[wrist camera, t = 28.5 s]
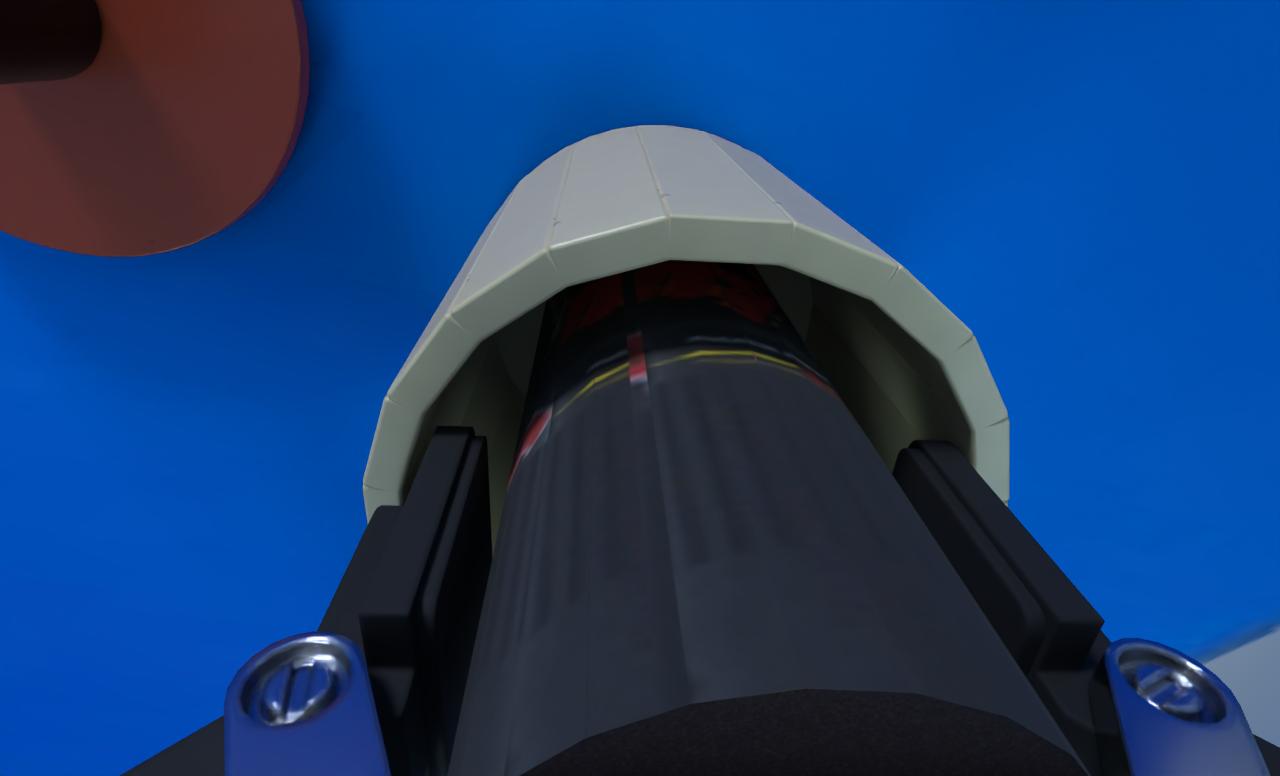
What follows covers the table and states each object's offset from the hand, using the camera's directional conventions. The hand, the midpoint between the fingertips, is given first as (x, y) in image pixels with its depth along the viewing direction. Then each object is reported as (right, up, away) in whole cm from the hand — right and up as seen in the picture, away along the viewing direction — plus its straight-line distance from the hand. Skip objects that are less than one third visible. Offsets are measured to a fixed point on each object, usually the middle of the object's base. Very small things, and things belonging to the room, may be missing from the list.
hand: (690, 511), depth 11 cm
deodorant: (0, +4, +8) cm, 9 cm away
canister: (0, +4, +9) cm, 10 cm away
